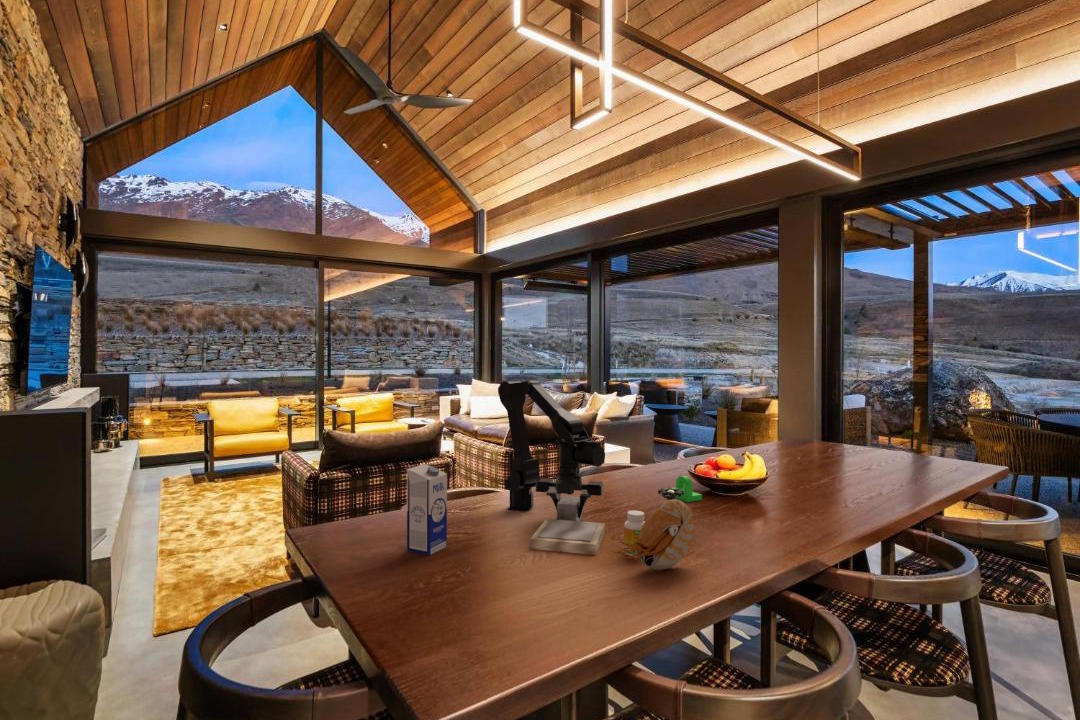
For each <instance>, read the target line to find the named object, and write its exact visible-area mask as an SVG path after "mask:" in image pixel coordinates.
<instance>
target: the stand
mask: <svg viewBox="0 0 1080 720" xmlns="http://www.w3.org/2000/svg"><path fill="white" fill-rule="evenodd" d="M605 533H606V523H604V522H594V521H593V522H592V521H581V520H580V521H569V520H557V519H555V518H554V519H553V518H546V519H545V520H544V521H542V524H541V525H540V526H539V527H538V528H537V529H536V531H535V532H534V534H532V536H531V537H530V540H529V549H531V550H541V551H550V552H551V551H552V552H560V551H561V553H573V554H582V555H584V554H585V555H593V556H596V555H597V554H598V551H599V548H600V546H601V543H602V541H603V538H604V536H605Z"/></svg>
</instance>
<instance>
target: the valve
mask: <svg viewBox="0 0 1080 720" xmlns="http://www.w3.org/2000/svg"><path fill="white" fill-rule="evenodd" d="M665 488H666V487H661V488H660V489H658V490H657V494H658V495H661V496H662V497H663V498H664V499H666V501H667V500H673V499H677V498H676V496H677V495H678V497H682V495H684V491H683V490H680V489H679V488H676V487H675V488H676V489H672V488H673V487H667V488H668V489H665Z"/></svg>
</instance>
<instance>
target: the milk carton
mask: <svg viewBox="0 0 1080 720" xmlns="http://www.w3.org/2000/svg"><path fill="white" fill-rule="evenodd" d="M447 510H448V473H447V472H444V471H442V470H440V469H439V468H437V467H434V466H432V465H429V464H426V463H425V464H424V463H423V464H421V465H418V466H414V467H410V468H407V469H406V551H407V552H410V553H415V554H420V555H424V556H425V555H426V556H431V555H433V554H435V553H437V552H440V551H441V550H443V549H445V548H447V546H448V544H447V543H448V541H447V539H448V537H447V536H448V535H447V533H448V531H447V530H448V520H447V519H448V511H447Z"/></svg>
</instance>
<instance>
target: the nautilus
mask: <svg viewBox="0 0 1080 720" xmlns="http://www.w3.org/2000/svg"><path fill="white" fill-rule="evenodd" d="M693 517H694V516H693V511H692V509H691V508H690V507H689V506H688V504H686V503H685V501H683V500H680V499H677V498H675V499H673V500H667V499H666V501H664V502H663V503H662V504H661V505H660V507H658V508H657V509H655V511H652V513H650V515H649V516H648V517H647V518H646V519H645V520H644V521H645V523H644V524H643V526H642V528H641V531H640V533H639V537H638V539H637V541H636V542H635V543H634V544H633V545H634V546H633V545H631V544H625V543H624V541H622V539H621V538H619V536H617V539H619V543H620V544H623V545H624V544H625V545H626V546H628V545H631V546H633V547H631V546H628V547H627V548H628V549H631V550H628V549H627V548H624V547H623V548H622V547H619V546H618V545H616V547H617V548H619V549H620V550H618V549H616V551H612V550H611V552H612V553H614V554H621V557H623V558H625V559H626V558H627V559H634V561H636V560H638V559H640V561H641V562H642V564H643V565H645V566H646V567H647V568H649V569H651V570H655V571H657V570H658V571H660V570H661V571H663V570H664V571H665V570H667V569H671V568H673V567H674V566H675V565H677V564H678V563H679V562H681V560H682V559H683V558H684V557H685V556H686V555H687V554H686V553H688V550H689V548H690V546H691V544H692V540H693V535H694V521H693V520H694V519H693ZM625 550H626V551H628V552H629V551H633V552H634V551H636V550H638V551H639V552H637V554H635V555H633V556H638V557H633V556H630V555H628V554H626V553H628V552H626V553H625V552H624V551H625ZM633 552H631V553H633ZM629 554H630V553H629Z"/></svg>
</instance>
